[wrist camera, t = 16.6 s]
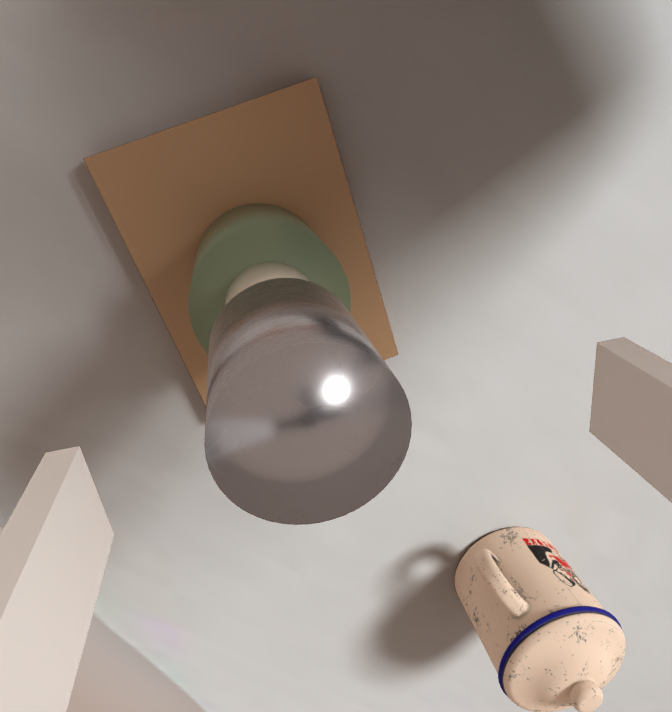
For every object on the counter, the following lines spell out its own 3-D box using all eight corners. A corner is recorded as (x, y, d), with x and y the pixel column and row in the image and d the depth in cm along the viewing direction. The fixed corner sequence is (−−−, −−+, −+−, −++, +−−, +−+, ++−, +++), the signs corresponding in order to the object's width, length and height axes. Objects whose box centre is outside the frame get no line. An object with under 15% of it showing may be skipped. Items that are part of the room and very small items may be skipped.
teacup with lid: (571, 562, 46) (676, 692, 35) (485, 625, 47) (563, 770, 36) (503, 480, 41) (602, 603, 30) (408, 552, 42) (473, 696, 31)
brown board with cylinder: (88, 157, 27) (-14, 180, 15) (312, 78, 28) (383, 42, 16) (215, 415, 34) (213, 571, 22) (392, 347, 35) (484, 463, 23)
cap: (351, 413, 20) (400, 516, 15) (210, 418, 19) (207, 532, 14) (363, 278, 18) (423, 341, 13) (206, 276, 17) (201, 343, 12)
